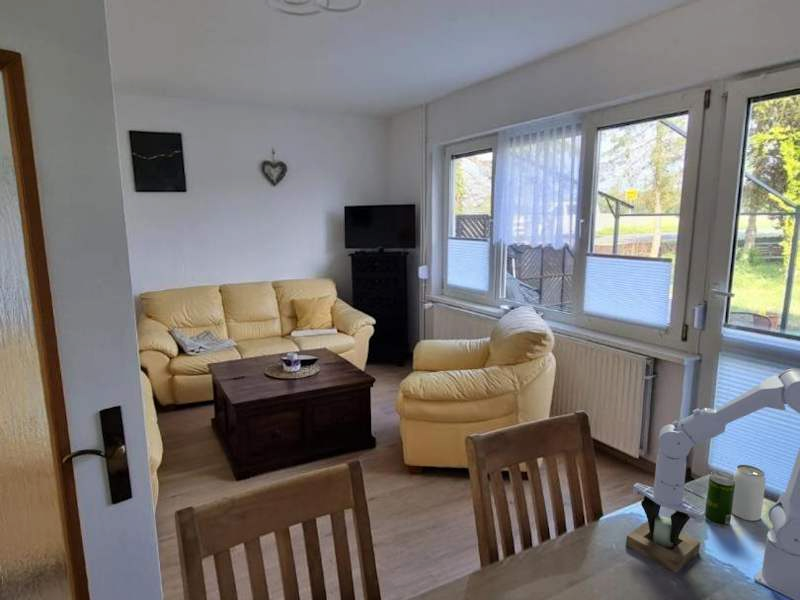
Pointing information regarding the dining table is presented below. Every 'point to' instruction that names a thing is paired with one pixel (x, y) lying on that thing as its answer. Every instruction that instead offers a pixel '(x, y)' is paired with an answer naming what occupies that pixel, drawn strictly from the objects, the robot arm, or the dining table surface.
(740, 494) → the can
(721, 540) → the dining table surface
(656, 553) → the socket
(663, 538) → the peg
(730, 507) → the beer can
